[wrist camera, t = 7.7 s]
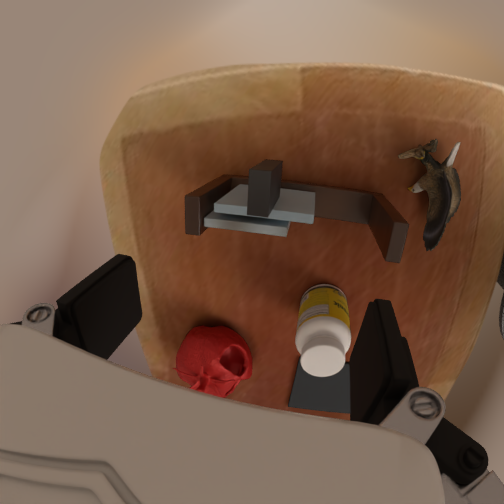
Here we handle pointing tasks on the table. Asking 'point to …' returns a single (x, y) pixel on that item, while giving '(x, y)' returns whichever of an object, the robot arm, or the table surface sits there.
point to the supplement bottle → (323, 330)
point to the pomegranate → (213, 360)
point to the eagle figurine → (437, 190)
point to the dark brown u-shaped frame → (326, 206)
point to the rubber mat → (321, 391)
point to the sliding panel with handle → (268, 197)
